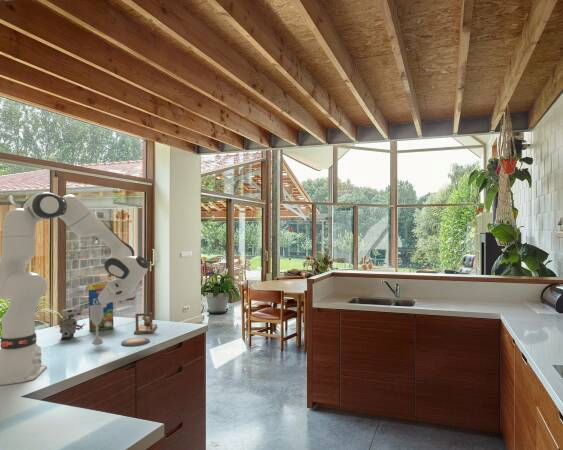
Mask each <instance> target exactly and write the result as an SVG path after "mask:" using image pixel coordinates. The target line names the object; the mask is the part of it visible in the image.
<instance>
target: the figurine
mask: <svg viewBox="0 0 563 450" xmlns="http://www.w3.org/2000/svg"><path fill="white" fill-rule="evenodd" d="M82 311H83V310H82V309H81V307H79V306H78V307H73V308H66V309H62V310H60V311H59V316H61V317H62V316H63V318H62V319H61V320H60V321H59V323H58V324H59V325H58V327H59V333H60V334H61V341H65V340H66V341H68V340H71V339H72V337H73V336H75V334H76V331H80V330H83V327H84V326H86V323H83V324H82V325H80V324H78V319H75V318H74V317H76V316H81V315H82Z"/></svg>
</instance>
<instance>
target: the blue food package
mask: <svg viewBox="0 0 563 450" xmlns="http://www.w3.org/2000/svg"><path fill="white" fill-rule="evenodd" d="M106 284H107V283H99V284H97V283H96V284H89V285H88V314H89V315H88V320H89V323H88V324H89V326H88V329H89V332H96V325H94V324H93V322H92V320H91V317H90V308H89V306H91V305H99V304H101V303H100V302H99V300H98V296H99V294H100V293H101V291H102V290H103V289H104V288H105V287H107V286H106ZM98 328H99V329H98V331H104V330H105V331H107V330H111V329H114V302H109V303H107V306H106V307H104V308H103V318H102V321H101V323H100V324H99V325H98Z"/></svg>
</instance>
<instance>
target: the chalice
mask: <svg viewBox="0 0 563 450" xmlns="http://www.w3.org/2000/svg"><path fill="white" fill-rule="evenodd" d="M101 305H102V304H99V305H91V306H89V305H88V309H89V308H90V317H91V320H92V322H93V324H94V325H96V331H95V337H94V338H93V340H92V342H91V344H92V345H99V344H103V343H104V341H103V339H102V338H101V337H100V336H99V333H100V332H99V330H98V329H99V328H98V325H99V324H100V323H101V321H102V318H103V308H102V306H101Z"/></svg>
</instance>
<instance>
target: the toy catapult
mask: <svg viewBox="0 0 563 450" xmlns="http://www.w3.org/2000/svg"><path fill="white" fill-rule="evenodd" d="M139 317H142V320H143V321H144V322H143V324H139ZM156 328H158V324H157V323H153V312H145V313H144V312H143V313H135V330H134V331H133V335H148V334H153V332H154V331H155V330H156Z"/></svg>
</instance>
